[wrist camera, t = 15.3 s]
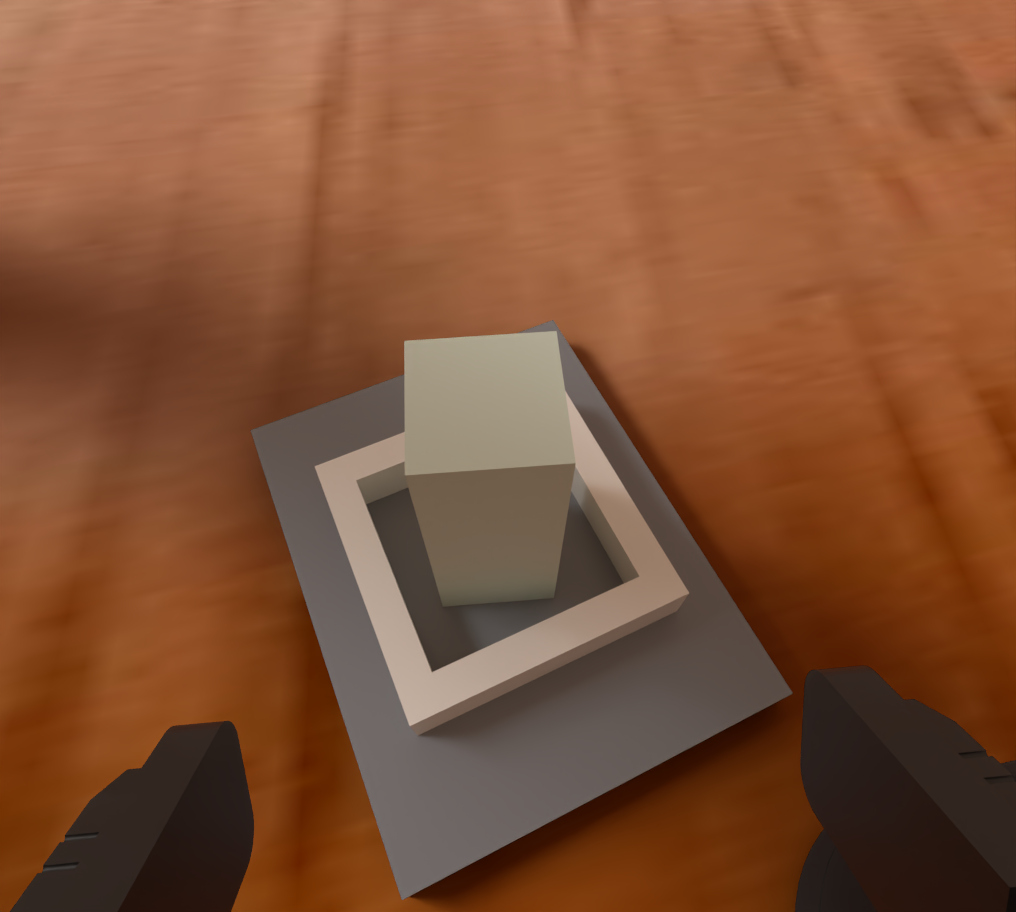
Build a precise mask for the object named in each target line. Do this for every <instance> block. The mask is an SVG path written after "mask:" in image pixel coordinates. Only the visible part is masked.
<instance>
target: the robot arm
mask: <svg viewBox="0 0 1016 912" xmlns="http://www.w3.org/2000/svg"><path fill="white" fill-rule="evenodd" d="M801 775H802V780H803V785H804V789H805V792H806V795H807V798H808V801H809V803H810V805H811V808H812V810H813V811H814V813H815V815H816V816H817V818H818V820H819V821H820V823H821V824H822V826H823V827H824V829H825V831H826V832H827V834H828V835H829V837H830V838H831V840H832V842H833V843H834V845H835V846H836V848H837V849H838V851H839V853H840V854H841V856H842V857H843V859H844V860H845V862H846V864H847V865H848V867H849V868H850V870H851V871H852V873H853V875H854V876H855V878H856V879H857V881H858V882H859V884H860V886H861V887H862V889H863V890H864V892H865V893H866V895H867V897H868V898H869V900H870V901H871V903H872V904H873V906H874V908H875V909H876V911H877V912H1016V782H1015V781H1014V779H1013V776H1012V774H1011V773H1010V772H1009V771H1008V770H1007V769H1006V768H1004V767H1003V766H1002V765H1001V764H1000V763H999V762H998V761H997V760H996V759H995V758H994V757H993V756H990V757H988V756H987V754H986V750H985V749H984V748H983V747H982V746H981V745H980V744H979V743H977V742H976V741H975V740H974V739H973V738H972V737H971V736H970V735H969V734H968V733H967V732H966V731H964V730H963V729H962V728H961V727H960V726H959V725H958V724H957V723H956V722H955V721H953V720H951V719H949V718H947V717H946V716H944V715H942V714H940V713H938V712H937V711H935V710H933V709H931V708H929V707H928V706H926V705H924V704H922V703H920V702H919V701H917V700H915V699H911V700H904V699H902V698H901V697H900V696H899V695H898V694H897V693H896V692H895V691H894V690H893V689H892V688H891V687H890V686H889V685H888V684H887V683H886V682H885V681H884V680H883V679H882V678H881V677H880V676H879V675H878V674H877V673H876V672H875V671H874V670H873V669H871V668H870V667H868V666H864V665H863V666H852V667H841V668H830V669H819V670H811V671H810V672H809V673H808V674H807V677H806V680H805V686H804V705H803V724H802V743H801ZM253 836H254V819H253V811H252V805H251V800H250V795H249V790H248V785H247V780H246V775H245V770H244V765H243V760H242V755H241V750H240V744H239V739H238V735H237V731H236V729H235V726H234V725H233V724H232V722H230V721H222V722H211V723H200V724H189V725H178V726H172V727H170V728H169V729H168V730H167V731H166V733H165V734H164V735H163V737H162V738H161V740H160V741H159V743H158V744H157V746H156V747H155V749H154V750H153V752H152V753H151V755H150V756H149V758H148V759H147V761H146V762H145V764H144V765H143V767H142V768H139V769H128V770H126V771H125V772H124V773H123V774H121V775H120V776H119V777H118V778H117V779H115V780H114V781H113V782H112V783H111V784H109V785H108V786H107V787H106V788H105V789H103V790H102V791H101V792H100V793H98V794H97V795H96V796H95V797H94V798H92V799H91V800H90V801H89V803H88V804H87V806H86V807H85V808H84V810H83V811H82V812H81V814H80V815H79V817H78V818H77V819H76V821H75V822H74V824H73V825H72V826H71V828H70V829H69V830H68V832H67V833H66V835H65V841H64V842H60V843H59V844H58V846H57V847H56V849H55V850H54V851H53V853H52V854H51V855H50V857H49V858H48V860H47V861H46V862H45V864H44V865H43V872H42V873H37V875H36V876H35V878H34V879H33V880H32V882H31V883H30V885H29V886H28V887H27V889H26V890H25V891H24V893H23V894H22V896H21V897H20V898H19V900H18V901H17V903H16V904H15V905H14V907H13V908H12V909H11V911H10V912H231V910H232V907H233V905H234V902H235V899H236V897H237V894H238V891H239V889H240V886H241V883H242V881H243V878H244V875H245V873H246V870H247V867H248V864H249V861H250V857H251V852H252V846H253Z"/></svg>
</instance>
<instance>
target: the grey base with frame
mask: <svg viewBox="0 0 1016 912" xmlns="http://www.w3.org/2000/svg"><path fill="white" fill-rule="evenodd" d="M548 331H557V338H558V345H559V352H560V359H561V365H562V372H563V379H564V386H565V393H566V400H567V407H568V414H569V421H570V427H571V434H572V441H573V448H574V455H575V462H576V464H575V471H574V477H573V483H572V489H571V495H570V501H569V508H568V514H567V520H566V526H565V532H564V538H563V545H562V551H561V557H560V563H559V569H558V575H557V581H556V588H555V594H554V598H549V599H536V600H523V601H510V602H497V603H484V604H472V605H459V606H446V607H443V605H442V602H441V598H440V595H439V591H438V588H437V584H436V581H435V578H434V574H433V571H432V567H431V564H430V560H429V557H428V554H427V550H426V547H425V543H424V540H423V536H422V533H421V529H420V526H419V523H418V519H417V516H416V512H415V509H414V505H413V502H412V499H411V495H410V492H409V488H408V485H407V481H406V478H405V403H404V375H401V376H398V377H395V378H393V379H390V380H387V381H384V382H382V383H379V384H376V385H373V386H371V387H368V388H365V389H362V390H360V391H357V392H354V393H351V394H349V395H346V396H343V397H341V398H338V399H335V400H332V401H330V402H327V403H324V404H321V405H319V406H316V407H313V408H310V409H308V410H305V411H302V412H299V413H297V414H294V415H291V416H288V417H286V418H283V419H280V420H277V421H275V422H272V423H269V424H266V425H264V426H261V427H258V428H255V429H253V430H251V433H252V436H253V440H254V443H255V446H256V449H257V452H258V455H259V458H260V461H261V464H262V468H263V471H264V474H265V477H266V480H267V483H268V486H269V489H270V492H271V495H272V499H273V502H274V505H275V508H276V511H277V514H278V517H279V520H280V523H281V527H282V530H283V533H284V536H285V539H286V542H287V545H288V548H289V551H290V554H291V558H292V561H293V564H294V567H295V570H296V573H297V576H298V579H299V582H300V585H301V589H302V592H303V595H304V598H305V601H306V604H307V607H308V610H309V613H310V617H311V620H312V623H313V626H314V629H315V632H316V635H317V638H318V641H319V644H320V648H321V651H322V654H323V657H324V660H325V663H326V666H327V669H328V672H329V676H330V679H331V682H332V685H333V688H334V691H335V694H336V697H337V700H338V703H339V707H340V710H341V713H342V716H343V719H344V722H345V725H346V728H347V731H348V734H349V738H350V741H351V744H352V747H353V750H354V753H355V756H356V759H357V762H358V766H359V769H360V772H361V775H362V778H363V781H364V784H365V787H366V790H367V793H368V797H369V800H370V803H371V806H372V809H373V812H374V815H375V818H376V821H377V825H378V828H379V831H380V834H381V837H382V840H383V843H384V846H385V849H386V852H387V856H388V859H389V862H390V865H391V868H392V871H393V874H394V877H395V880H396V883H397V887H398V890H399V893H400V896H401V899H402V900H403V899H405V898H408V897H410V896H411V895H413V894H415V893H417V892H419V891H421V890H423V889H425V888H427V887H428V886H430V885H432V884H434V883H436V882H438V881H440V880H442V879H444V878H445V877H447V876H449V875H451V874H453V873H455V872H457V871H459V870H461V869H462V868H464V867H466V866H468V865H470V864H472V863H474V862H476V861H478V860H479V859H481V858H483V857H485V856H487V855H489V854H491V853H493V852H495V851H497V850H498V849H500V848H502V847H504V846H506V845H508V844H510V843H512V842H514V841H515V840H517V839H519V838H521V837H523V836H525V835H527V834H529V833H531V832H532V831H534V830H536V829H538V828H540V827H542V826H544V825H546V824H548V823H549V822H551V821H553V820H555V819H557V818H559V817H561V816H563V815H565V814H566V813H568V812H570V811H572V810H574V809H576V808H578V807H580V806H582V805H583V804H585V803H587V802H589V801H591V800H593V799H595V798H597V797H599V796H600V795H602V794H604V793H606V792H608V791H610V790H612V789H614V788H616V787H617V786H619V785H621V784H623V783H625V782H627V781H629V780H631V779H633V778H634V777H636V776H638V775H640V774H642V773H644V772H646V771H648V770H650V769H651V768H653V767H655V766H657V765H659V764H661V763H663V762H665V761H667V760H668V759H670V758H672V757H674V756H676V755H678V754H680V753H682V752H684V751H685V750H687V749H689V748H691V747H693V746H695V745H697V744H699V743H701V742H703V741H704V740H706V739H708V738H710V737H712V736H714V735H716V734H718V733H720V732H721V731H723V730H725V729H727V728H729V727H731V726H733V725H735V724H737V723H738V722H740V721H742V720H744V719H746V718H748V717H750V716H752V715H754V714H755V713H757V712H759V711H761V710H763V709H765V708H767V707H769V706H771V705H772V704H774V703H776V702H778V701H780V700H782V699H784V698H785V697H787V696H789V695H791V694H793V693H792V691H791V689H790V688H789V686H788V685H787V683H786V682H785V680H784V679H783V677H782V675H781V674H780V672H779V671H778V669H777V668H776V666H775V665H774V663H773V661H772V660H771V658H770V657H769V655H768V654H767V652H766V651H765V649H764V647H763V646H762V644H761V643H760V641H759V640H758V638H757V637H756V635H755V633H754V632H753V630H752V629H751V627H750V626H749V624H748V623H747V621H746V619H745V618H744V616H743V615H742V613H741V612H740V610H739V609H738V607H737V605H736V604H735V602H734V601H733V599H732V598H731V596H730V595H729V593H728V591H727V590H726V588H725V587H724V585H723V584H722V582H721V581H720V579H719V577H718V576H717V574H716V573H715V571H714V570H713V568H712V566H711V565H710V563H709V562H708V560H707V559H706V557H705V556H704V554H703V552H702V551H701V549H700V548H699V546H698V545H697V543H696V542H695V540H694V538H693V537H692V535H691V534H690V532H689V531H688V529H687V528H686V526H685V524H684V523H683V521H682V520H681V518H680V517H679V515H678V514H677V512H676V510H675V509H674V507H673V506H672V504H671V503H670V501H669V500H668V498H667V496H666V495H665V493H664V492H663V490H662V489H661V487H660V486H659V484H658V482H657V481H656V479H655V478H654V476H653V475H652V473H651V472H650V470H649V468H648V467H647V465H646V464H645V462H644V461H643V459H642V458H641V456H640V454H639V453H638V451H637V450H636V448H635V447H634V445H633V444H632V442H631V440H630V439H629V437H628V436H627V434H626V433H625V431H624V429H623V428H622V426H621V425H620V423H619V422H618V420H617V419H616V417H615V415H614V414H613V412H612V411H611V409H610V408H609V406H608V405H607V403H606V401H605V400H604V398H603V397H602V395H601V394H600V392H599V391H598V389H597V387H596V386H595V384H594V383H593V381H592V380H591V378H590V377H589V375H588V373H587V372H586V370H585V369H584V367H583V366H582V364H581V363H580V361H579V359H578V358H577V356H576V355H575V353H574V352H573V350H572V349H571V347H570V345H569V344H568V342H567V341H566V339H565V338H564V336H563V335H562V333H561V331H560V330H559V328H558V327H557V325H556V324H555V322H554V321H553V320H552V321H549V322H546V323H544V324H541V325H538V326H535V327H533V328H530V329H527V330H524V331H522V332H519V333H533V332H548ZM516 334H518V333H516Z"/></svg>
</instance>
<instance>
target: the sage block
mask: <svg viewBox="0 0 1016 912" xmlns="http://www.w3.org/2000/svg"><path fill="white" fill-rule="evenodd" d="M404 403H405V478H406V481H407V485H408V488H409V492H410V495H411V499H412V502H413V505H414V509H415V512H416V516H417V519H418V523H419V526H420V529H421V533H422V536H423V540H424V543H425V547H426V550H427V554H428V557H429V560H430V564H431V567H432V571H433V574H434V578H435V581H436V584H437V588H438V591H439V595H440V598H441V602H442V605H443V607H446V606H459V605H472V604H484V603H497V602H510V601H523V600H536V599H549V598H554V594H555V588H556V581H557V575H558V569H559V563H560V557H561V551H562V545H563V538H564V532H565V526H566V520H567V514H568V508H569V501H570V495H571V489H572V483H573V477H574V471H575V464H576V462H575V455H574V448H573V441H572V434H571V427H570V421H569V414H568V407H567V400H566V393H565V386H564V379H563V372H562V365H561V359H560V352H559V345H558V338H557V331H548V332H533V333H518V334H502V335H487V336H471V337H456V338H441V339H425V340H410V341H404Z"/></svg>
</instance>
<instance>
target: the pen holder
mask: <svg viewBox="0 0 1016 912" xmlns="http://www.w3.org/2000/svg"><path fill="white" fill-rule="evenodd" d="M1001 765H1002V766H1003V767H1004V768H1006V769H1007V770H1008V771H1009V772H1010V773H1011V774H1012V776H1013V779H1014V781H1015V782H1016V760H1014V761H1010V762H1006V763H1002V764H1001ZM795 912H877V911H876V909H875V908H874V906H873V904H872V903H871V901H870V900H869V898H868V897H867V895H866V893H865V892H864V890H863V889H862V887H861V886H860V884H859V882H858V881H857V879H856V878H855V876H854V875H853V873H852V871H851V870H850V868H849V867H848V865H847V864H846V862H845V860H844V859H843V857H842V856H841V854H840V853H839V851H838V849H837V848H836V846H835V845H834V843H833V842H832V840H831V838H830V837H829V835H828V834H827V832H826V831H825V829H824V830H823V831H822V832H821V834H820V835H819V837H818V838H817V840H816V841H815V843H814V845H813V846H812V848H811V850H810V852H809V854H808V857H807V859H806V861H805V863H804V866H803V870H802V873H801V877H800V880H799V884H798V891H797V897H796V908H795Z"/></svg>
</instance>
